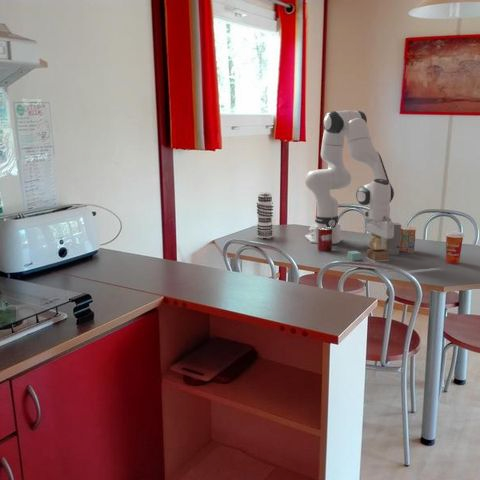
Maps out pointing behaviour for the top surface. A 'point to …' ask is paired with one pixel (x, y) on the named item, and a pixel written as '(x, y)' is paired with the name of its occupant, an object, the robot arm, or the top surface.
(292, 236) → the top surface
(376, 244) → the oak cube
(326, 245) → the soda can
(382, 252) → the walnut block
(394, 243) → the skincare box
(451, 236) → the paper cup
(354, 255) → the teal cube
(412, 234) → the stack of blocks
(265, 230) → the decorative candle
